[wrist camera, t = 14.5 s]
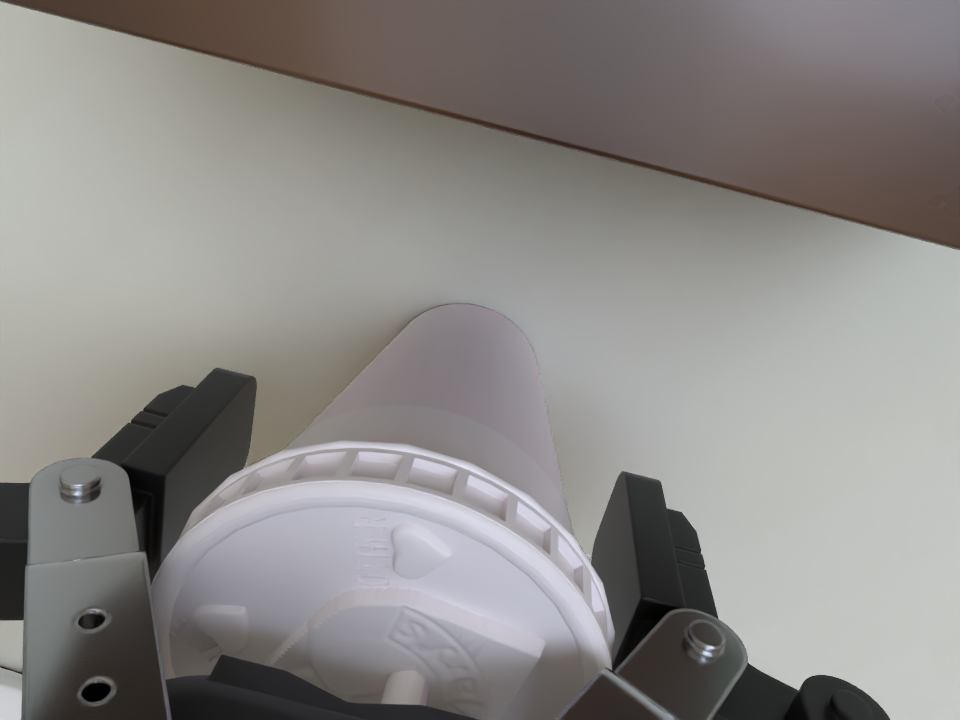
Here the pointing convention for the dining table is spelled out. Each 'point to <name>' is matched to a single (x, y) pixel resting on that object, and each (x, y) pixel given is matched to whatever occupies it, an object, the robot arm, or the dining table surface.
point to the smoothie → (402, 541)
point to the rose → (10, 695)
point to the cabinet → (638, 83)
